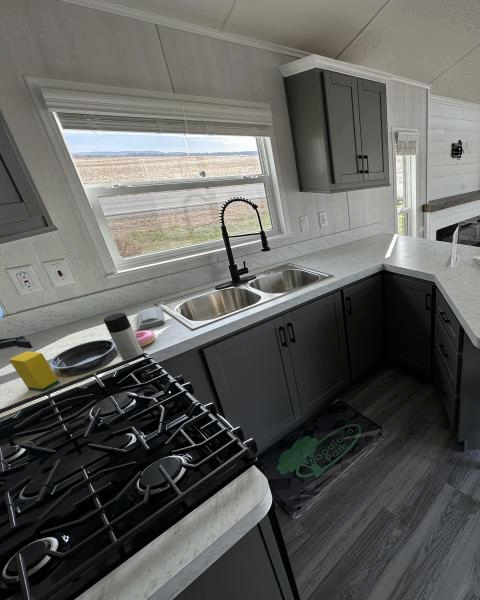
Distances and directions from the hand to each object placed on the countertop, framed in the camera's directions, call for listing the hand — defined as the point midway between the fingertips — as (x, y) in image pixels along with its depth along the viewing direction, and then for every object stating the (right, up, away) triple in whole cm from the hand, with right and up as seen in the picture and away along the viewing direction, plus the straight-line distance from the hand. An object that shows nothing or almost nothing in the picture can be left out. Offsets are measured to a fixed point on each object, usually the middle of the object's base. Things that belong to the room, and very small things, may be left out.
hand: (5, 355), depth 112 cm
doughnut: (+24, 0, +29) cm, 37 cm away
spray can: (+31, -5, +17) cm, 36 cm away
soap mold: (+13, +10, +49) cm, 51 cm away
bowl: (+12, -5, +17) cm, 22 cm away
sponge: (+9, -12, +4) cm, 15 cm away
